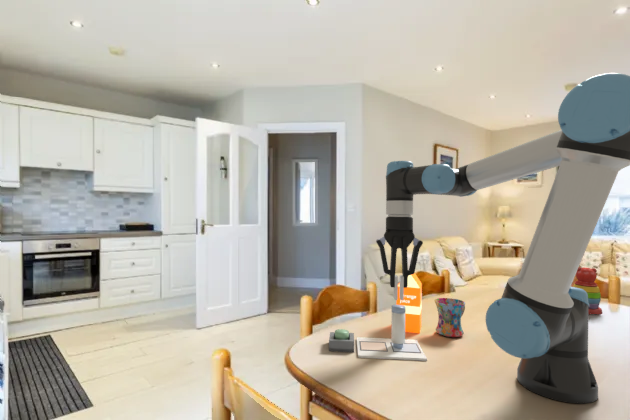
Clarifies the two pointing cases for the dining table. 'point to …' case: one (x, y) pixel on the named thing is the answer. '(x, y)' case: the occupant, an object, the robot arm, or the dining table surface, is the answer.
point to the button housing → (341, 343)
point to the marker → (398, 326)
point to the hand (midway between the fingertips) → (398, 298)
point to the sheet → (389, 349)
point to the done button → (342, 334)
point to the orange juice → (412, 304)
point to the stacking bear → (589, 288)
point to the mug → (450, 316)
